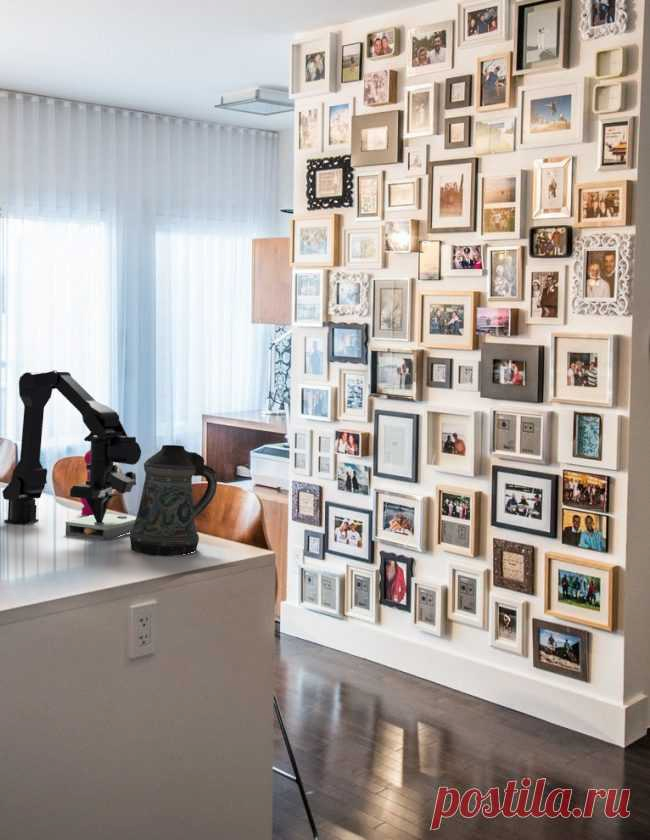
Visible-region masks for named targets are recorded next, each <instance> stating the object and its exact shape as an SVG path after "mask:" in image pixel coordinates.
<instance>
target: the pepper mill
mask: <svg viewBox="0 0 650 840" xmlns="http://www.w3.org/2000/svg"><path fill="white" fill-rule="evenodd" d="M90 452H91V449H90V450H88V451H87V452H86V453H85V454H84V458H83V459H84V463H85V464H90ZM85 472H86V474H87V478H86V481H88V480H89V477H90V469H86V468H85ZM79 499H80V503H81V504H82V505H83V507H82V508H81V515H82V514H83V516H86V515H93V513H92V511H91V508H90V506H89V504H88V503H87V501H86V499H85V498H79Z"/></svg>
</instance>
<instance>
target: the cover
mask: <svg viewBox="0 0 650 840" xmlns="http://www.w3.org/2000/svg"><path fill="white" fill-rule="evenodd" d="M136 517H137V516H135V517H134V516H128V515H121V514H113V513H105V515H104V518H103V521H102V523H97V522H96V520H95V517H94V515H91V516H86V515H85V516H82V517H79V518H75V519H70V520H68V521H65V526H66V525H71V526H79V527H86V528H94V529H101V530H110V529H114V528H117V527H121V526H125V525H128V524H132V523H135V520H136Z"/></svg>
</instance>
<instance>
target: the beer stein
mask: <svg viewBox="0 0 650 840" xmlns="http://www.w3.org/2000/svg"><path fill="white" fill-rule="evenodd" d="M143 470H144V473H145V476H144V477H145V478H144V482H143V486H142V492H141V498H140V503H139V507H138V511H137V514H136V516H135V517H136V520H135V523H134V525H133V528H132V530H131V532H130V534H129V541H130V542H129V543H130V550H131V551H132V550H133V552H134V551H135V553H136V554H140V553H141V555H147V556H155V557H156V556H157V557H175V556H174V555H183V554H188V553H191V552H194V551H196V552H197V549H198V544H199V541H200V535H199V533H198V531H197V528H196V524H195V522H196V521H195V519H196V518H197V517H198V516H199V515H201V513H203V512H204V511H205V510H206V509H207V507H208V506H209V504H210V503H211V502H212V500H213V499H214V497H215V495H216V492H217V488H218V480H217V475H216V471H215V469H214V468H213V467H210V466H209V465H207V464H205V459H204V457H203V456H201V455H200V454H199V453H197V452H192V451H188V450H186V448H185V445H175V444H172V445H171V444H164V445H163V444H162V446H161V449H160V450H158V451H157V452H156V453H155V454H154V455H152V456H150V457H148V458H147V459H146V460H145V462H144V463H143ZM193 476H194V477H204V478H205V480H206V481H207V486H206V489H205V490H204V492H203V494H202V496H201V497H200V498H199V499H198V500H197V501H196V502H195V503H194V492H193V480H192V479H193ZM183 556H184V555H183Z"/></svg>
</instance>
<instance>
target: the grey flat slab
mask: <svg viewBox="0 0 650 840" xmlns="http://www.w3.org/2000/svg"><path fill="white" fill-rule="evenodd" d="M133 525H134V523H132V524H128V525H125V526H121V527H117V528H114V529H110V530H101V529H94V528H86V527H79V526H71V525H65V536H72V537H79V538H80V537H81V538H87V539H88V538H89V539H93V540H100V539H102V540H101V541H110V540H113V539H112V538H114V539H116V538H115V537H117V538H119V537H118V536H120V535H123V534H126V533H129V532H131V530H132V528H133ZM109 539H110V540H109Z"/></svg>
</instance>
